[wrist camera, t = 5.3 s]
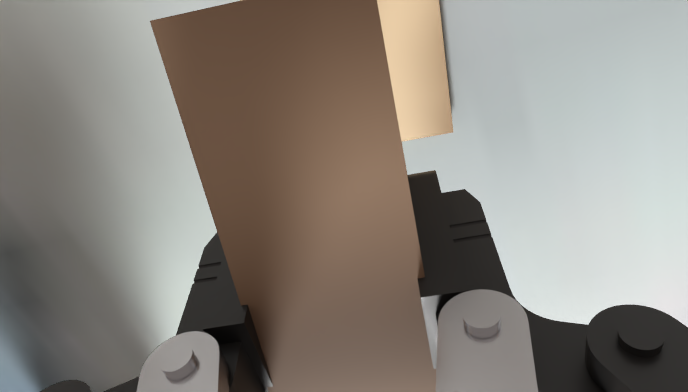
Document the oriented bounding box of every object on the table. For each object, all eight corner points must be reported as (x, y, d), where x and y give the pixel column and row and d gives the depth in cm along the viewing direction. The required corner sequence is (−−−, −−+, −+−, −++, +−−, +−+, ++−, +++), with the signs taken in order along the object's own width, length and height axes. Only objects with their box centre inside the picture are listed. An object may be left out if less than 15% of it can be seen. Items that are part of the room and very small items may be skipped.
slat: (236, 4, 12) (150, 20, 7) (371, -26, 12) (371, -29, 7) (332, 370, 15) (315, 540, 11) (438, 356, 15) (467, 524, 10)
